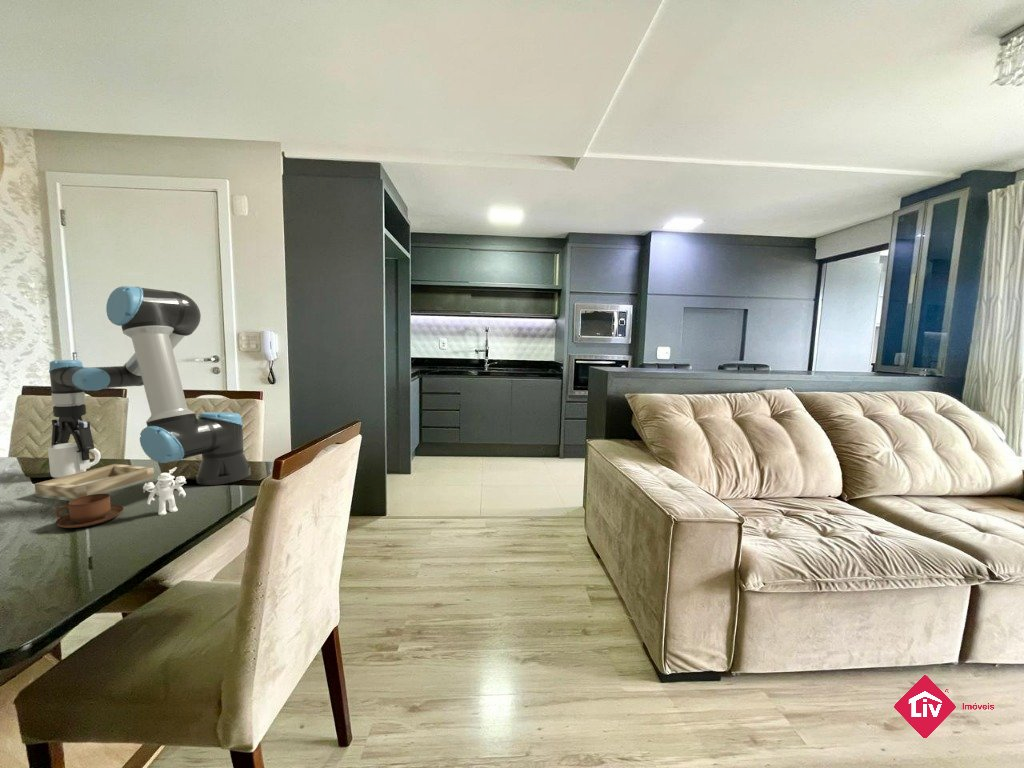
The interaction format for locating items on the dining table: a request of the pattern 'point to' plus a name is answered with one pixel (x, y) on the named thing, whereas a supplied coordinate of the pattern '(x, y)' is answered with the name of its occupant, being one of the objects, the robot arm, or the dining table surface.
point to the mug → (66, 459)
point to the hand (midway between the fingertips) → (74, 467)
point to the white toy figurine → (165, 491)
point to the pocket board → (94, 482)
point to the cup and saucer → (88, 511)
